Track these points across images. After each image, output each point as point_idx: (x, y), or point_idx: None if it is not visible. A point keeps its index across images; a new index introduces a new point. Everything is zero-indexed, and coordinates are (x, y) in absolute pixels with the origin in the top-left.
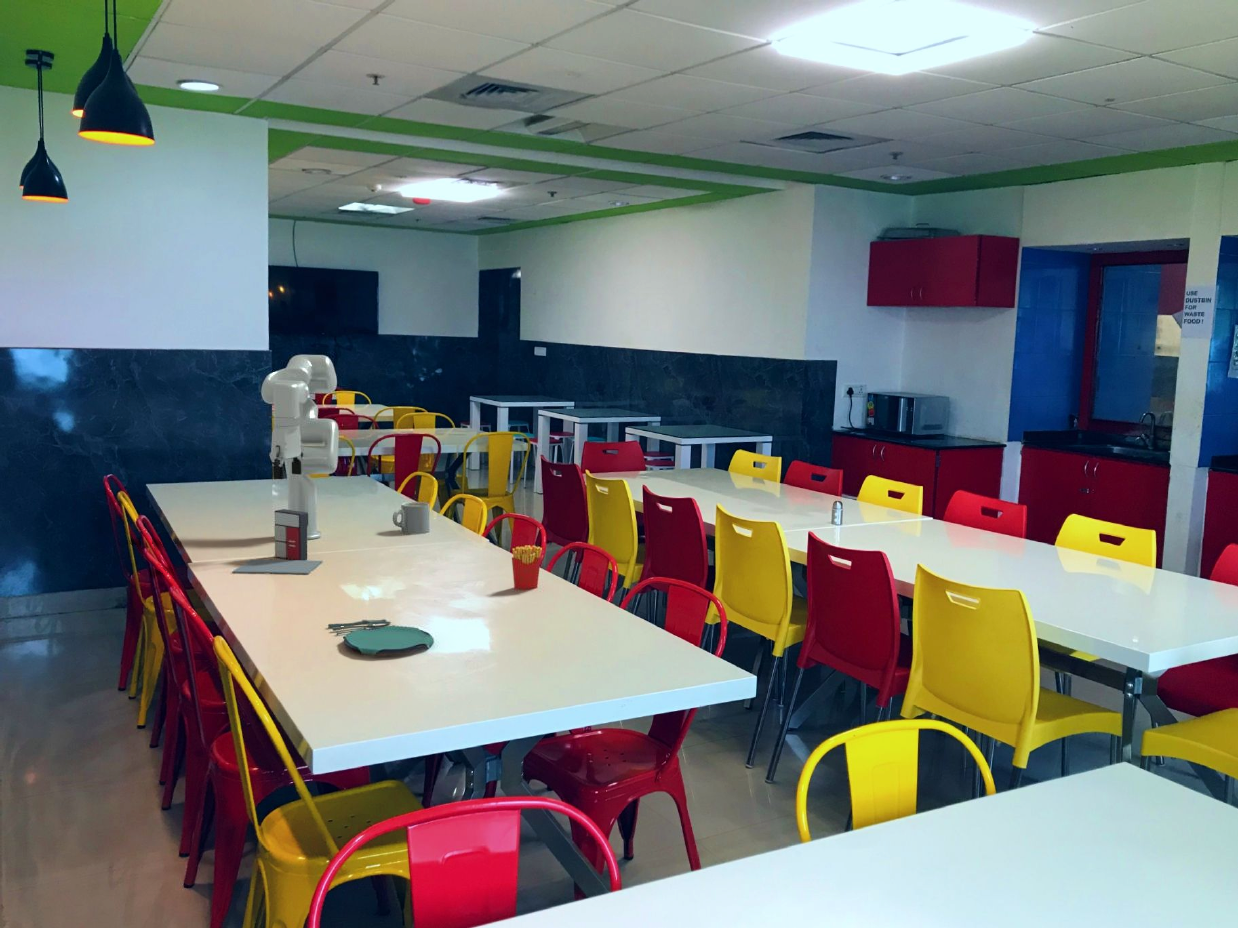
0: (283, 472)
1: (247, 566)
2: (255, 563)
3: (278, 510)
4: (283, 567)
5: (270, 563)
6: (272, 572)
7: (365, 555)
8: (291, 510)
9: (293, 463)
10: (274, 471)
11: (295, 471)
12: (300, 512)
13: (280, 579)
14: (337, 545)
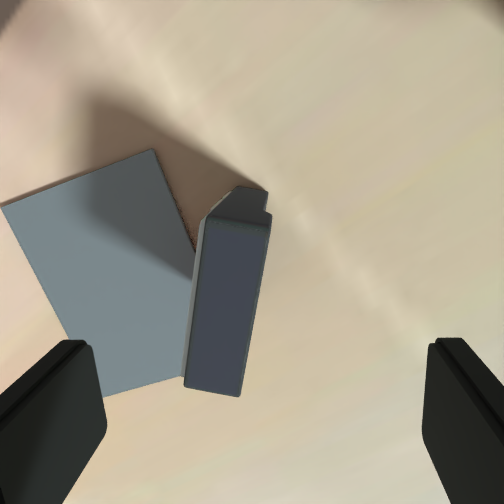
0: (62, 490)
1: (69, 206)
2: (113, 202)
3: (215, 237)
4: (115, 309)
5: (136, 244)
6: (57, 314)
7: (371, 416)
8: (249, 298)
9: (492, 475)
10: (15, 395)
11: (438, 405)
12: (219, 370)
13: (26, 363)
14: (490, 267)
